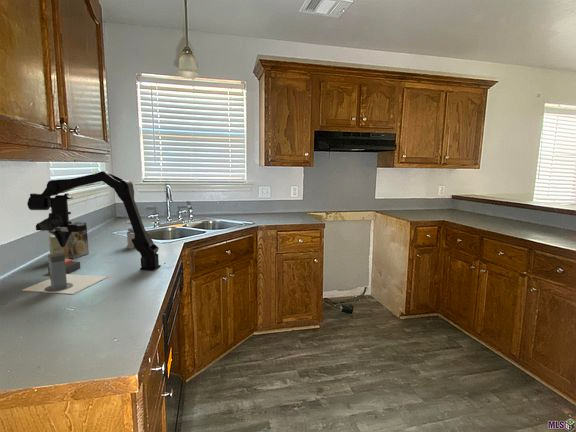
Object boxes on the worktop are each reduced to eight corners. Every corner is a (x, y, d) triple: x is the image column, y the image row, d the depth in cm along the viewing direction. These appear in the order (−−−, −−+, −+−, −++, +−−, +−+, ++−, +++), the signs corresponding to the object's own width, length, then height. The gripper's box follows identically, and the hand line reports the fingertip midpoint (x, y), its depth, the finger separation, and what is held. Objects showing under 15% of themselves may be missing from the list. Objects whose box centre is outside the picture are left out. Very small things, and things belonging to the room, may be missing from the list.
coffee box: (78, 252, 167) (76, 221, 164) (89, 253, 165) (87, 222, 163) (62, 257, 158) (60, 224, 155) (74, 258, 156) (71, 225, 154)
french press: (121, 247, 179) (118, 202, 175) (136, 242, 190) (134, 200, 186) (136, 249, 176) (133, 203, 172) (151, 244, 187) (149, 201, 183)
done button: (72, 266, 140) (72, 259, 140) (65, 269, 136) (64, 262, 135) (64, 265, 140) (63, 258, 140) (55, 268, 136) (55, 261, 136)
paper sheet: (107, 277, 131) (107, 276, 131) (73, 294, 114) (73, 293, 113) (62, 274, 134) (62, 273, 134) (22, 290, 116) (21, 289, 116)
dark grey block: (67, 287, 119) (64, 255, 117) (53, 289, 116) (51, 257, 114) (64, 284, 122) (61, 253, 120) (51, 287, 119) (48, 255, 117)
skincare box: (53, 263, 148) (51, 237, 146) (50, 261, 151) (47, 235, 149) (69, 260, 153) (67, 235, 151) (66, 258, 156) (64, 233, 154)
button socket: (80, 268, 142) (80, 261, 141) (65, 274, 134) (65, 267, 134) (63, 267, 143) (63, 260, 142) (48, 273, 135) (47, 266, 135)
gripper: (21, 211, 128) (25, 250, 130) (64, 213, 125) (67, 252, 128) (45, 208, 139) (49, 244, 141) (85, 209, 136) (88, 246, 139)
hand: (62, 246), depth 137 cm, fingers closed
